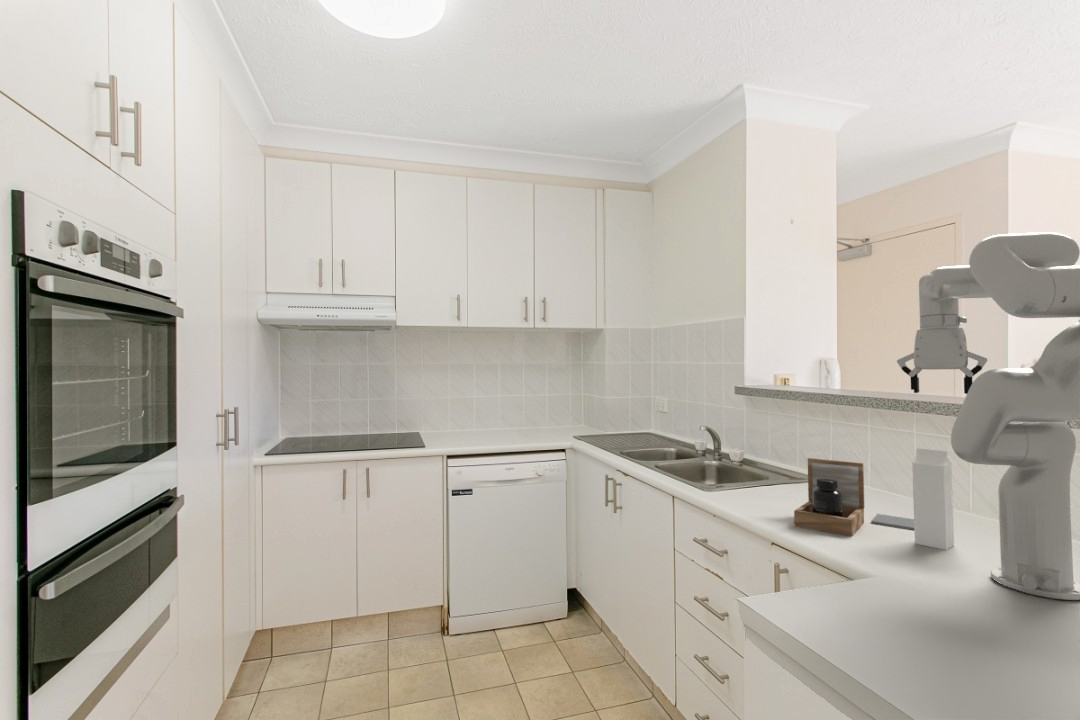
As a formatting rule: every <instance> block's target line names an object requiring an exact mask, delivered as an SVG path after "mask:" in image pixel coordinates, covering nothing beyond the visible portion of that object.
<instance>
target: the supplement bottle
mask: <svg viewBox="0 0 1080 720" xmlns="http://www.w3.org/2000/svg"><path fill="white" fill-rule="evenodd" d="M816 486H817V487H818V488H817V489H815V490H814V491H813V513H819V514H825V515H832V516H838V517H843V507H842V494H841V493H840V492H839V491H837V488H838V484H837V481H836V480H831V479H817V484H816Z"/></svg>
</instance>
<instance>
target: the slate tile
mask: <svg viewBox="0 0 1080 720" xmlns="http://www.w3.org/2000/svg"><path fill="white" fill-rule="evenodd" d="M870 521H871V522H870V523H871V524H873V523H874V524H875V525H879V524H880V525H879V526H885V525H887V526H888V527H891V528H892V527H893V528H898V529H899V528H900V529H904V530H905V529H906V530H911V531H912V530H913V531H914V518H908V517H901V516H896V515H895V516H894V515H887V514H881V513H876V515H875V516H874V517H873V519H872V520H870ZM887 526H886V527H887Z"/></svg>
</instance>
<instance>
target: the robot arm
mask: <svg viewBox="0 0 1080 720" xmlns="http://www.w3.org/2000/svg"><path fill="white" fill-rule="evenodd" d="M1079 257H1080V247H1079V245H1078V243H1077V241H1075V240H1074V239H1073V238H1072V237H1070V236H1068V235H1065V234H1063V233H1062V234H1061V233H1058V232H1047V231H1046V232H1044V231H1043V232H1042V231H1041V232H1027V233H1007V234H1005V233H1004V234H997V235H996V234H995V235H992V236H988V237H986V238H984V239H983V240H981V241H979V242H978V243H977V244H976V245H975V246H974V248H973V249H972V250H971V253H970V256H969V259H968V260H969V261H968V264H967V265H954V266H953V265H951V266H941V267H937V268H934V269H933V270H932V271H931V272H930V273H929V274H924V275H922V276H921V277H920V278H919V281H918V298H919V299H918V300H919V301H918V302H919V329H917V330H916V333H915V337H914V338H915V339H914V347H913V350H914V351H913V352H911V353H909V354H908V355H905V356H903V357H900V358H899V359H897V360H896V363H897V364H898V366H899V367H900V369H901V370H902V372H904V374H906V375H908V376H909V377H910V390H912V391H913V393H914V394H919V393H920V377H919V376H918V374H920V372H921V371H923V370H960V371H961V372H962V373H963V374H964V377H963V388H964V389H963V391H964V392H963V394H965V395H966V396H965V398H964V400H963V401H962V402H963V403H962V404H961V407H960V409H959V411H958V414H957V416H956V418H955V420H954V423H953V426H952V430H951V434H950V444H951V447H952V450H953V453H954V454H955V455H956V456H957V457H958V458H959V459H961V460H963V461H965V462H967V463H969V464H975V465H985V466H987V465H989V466H1009V468H1008V469H1007V470H1006V471H1005V472H1004V474H1003V476H1002V477H1001V479H1000V481H999V484H998V490H997V491H998V495H997V496H998V522H999V544H1000V547H999V548H1000V567H996V568H993V569H991V570H990V577H992V578H993V579H995V580H996V581H998V582H1000V583H1001V584H1003V585H1002V586H1004V585H1006V586H1008V587H1007V588H1009V587H1010V588H1009V589H1011V588H1013V589H1012V590H1014V589H1016V590H1015V591H1017V590H1019V591H1018V592H1021V591H1022V592H1021V593H1024V592H1025V594H1029V595H1033V596H1038V597H1042V598H1048V599H1054V600H1063V601H1079V600H1080V583H1078V582H1076V581H1074V564H1073V544H1072V543H1073V541H1072V539H1073V538H1072V518H1071V517H1072V516H1071V515H1072V513H1071V474H1072V473H1071V472H1072V467H1073V464H1074V463H1073V462H1074V457H1075V453H1076V449H1077V440H1076V435H1075V433H1074V431H1073V430H1072V428H1071V427H1070V426H1069V425H1068V424H1067V423H1065V422H1072V421H1075V420H1077V419H1079V418H1080V319H1079V320H1078V321H1077V322H1075V323H1073V324H1072V325H1070V326H1068V327H1066V328H1065V329H1063V330H1061V332H1059V333H1058V334H1057V335H1055V337H1053V338H1052V339H1051V340H1050V341H1049V342H1048V343H1047V345H1046V346H1045V347H1044V349H1043V351H1042V354H1041V355H1040V356H1039V358H1038V360H1037V362H1036V363H1034V364H1033V365H1031V366H1028V367H1023V368H1021V367H1020V368H1019V367H1012V368H1011V367H1009V368H1008V367H1003V368H995V369H994V368H993V369H988V370H987V371H984V372H982V373H981V374H980V375H978V376H977V377H976V378H975V379H974V380H973V377H974V376H975V375H977V374H978V373H979V372H981V371H982V369H983V368H984V367H985V365H986V364H987V362H988V358H987V357H984V356H981V355H979V354H976V353H974V352H971V351H968V346H967V339H966V333H965V329H964V328H963V327H960V325H961V324H967V323H968V318H967V317H966V316H961V315H960V314H959V311H960V309H959V299H980V298H981V299H985V298H986V299H987V298H991V299H992V300H993V302H995V303H996V305H997V306H999V308H1000V309H1001V310H1002V311H1004V312H1005V313H1007V314H1008V315H1011V316H1013V317H1016V318H1019V319H1021V318H1022V319H1048V318H1049V319H1056V318H1058V319H1059V318H1061V319H1062V318H1065V319H1066V318H1080V265H1075V264H1076V263H1077V261H1078V260H1079ZM968 358H969V359H972V360H974V361H977V364H976V365H975V366H974V367H973V368H971V369H969V368H968V362H969V359H968ZM911 360H913V365H914V368H913V369H911V368H910V367H908V366H907V364H906V363H907V362H909V361H911ZM992 578H991V579H992ZM993 579H992V580H993ZM996 581H995V582H996ZM1001 584H1000V585H1001ZM1006 586H1005V587H1006Z"/></svg>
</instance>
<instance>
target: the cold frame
mask: <svg viewBox="0 0 1080 720" xmlns="http://www.w3.org/2000/svg"><path fill="white" fill-rule="evenodd" d="M817 479H831V480H836V481H837V484H838V488H837V491H839V492H840V493H841V494H842V507H843V517H838V516H832V515H825V514H819V513H813V491H814V490H815V489H817V488H818V487H817V486H816V484H817ZM864 480H865V479H864V463H863V462H853V461H845V460H833V459H825V458H824V459H822V458H811V457H808V458H807V487H808V488H807V489H808V498H807V499H808V501H807V502H805V503H803V504H802V505H800V506H799V507H797V508H796V509H795V510H794V511H793V513H794V517H793V519H794V520H793V521H794V527H798V528H802V529H803V528H804V529H808V530H809V529H810V530H814V531H821V532H826V533H831V534H837V535H842V536H843V535H844V536H847V537H853V536H854V535H855V534H856V533H857V531H858V530H859V529H861V528H862V526H863V525H864V524H863V523H865V511H864V509H865V483H864V482H865V481H864Z"/></svg>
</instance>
